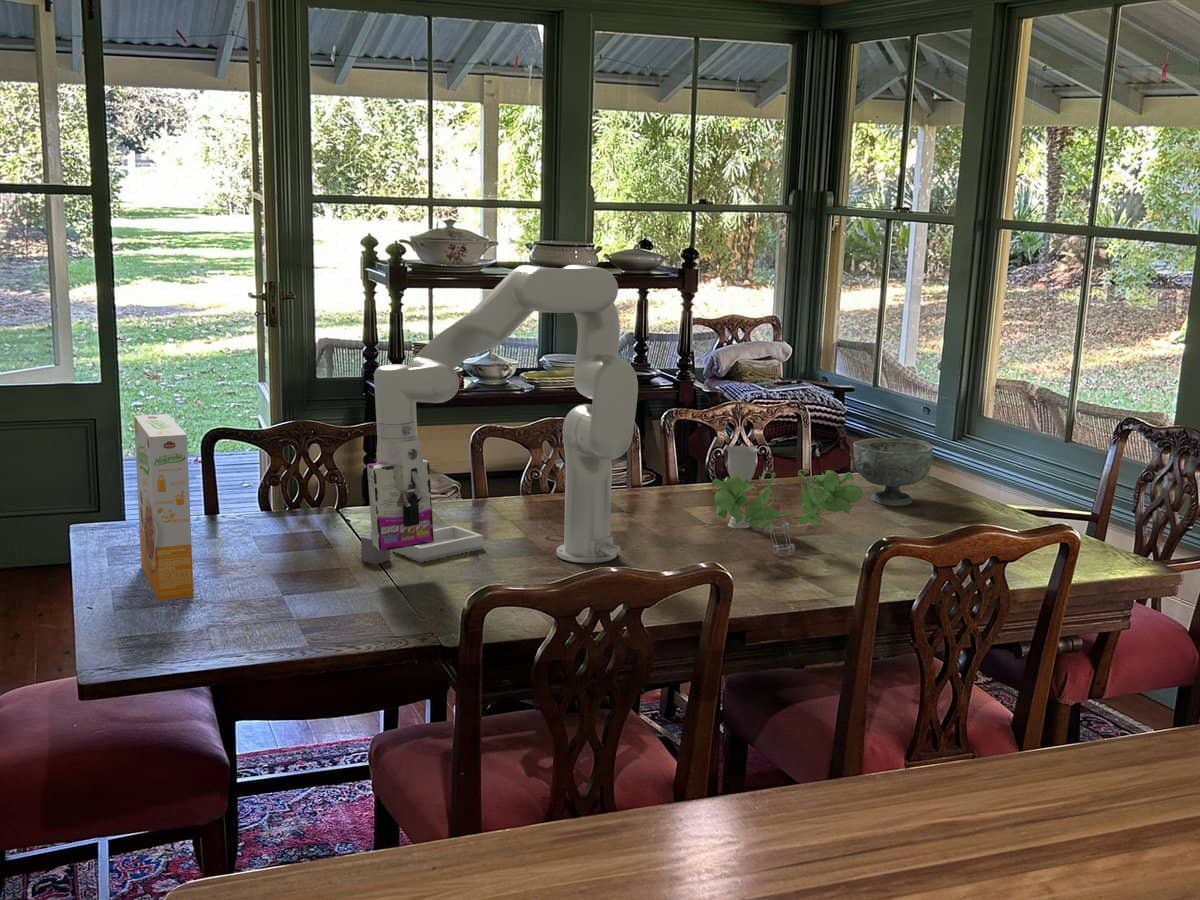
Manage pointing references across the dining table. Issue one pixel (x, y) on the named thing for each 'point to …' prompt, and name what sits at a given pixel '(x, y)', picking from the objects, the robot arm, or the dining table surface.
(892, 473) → the bowl
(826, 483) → the plant cuttings
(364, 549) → the brick
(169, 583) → the cereal box
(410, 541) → the candy bar box
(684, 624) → the dining table surface
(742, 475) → the chalice
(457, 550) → the tray
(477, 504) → the dining table surface
